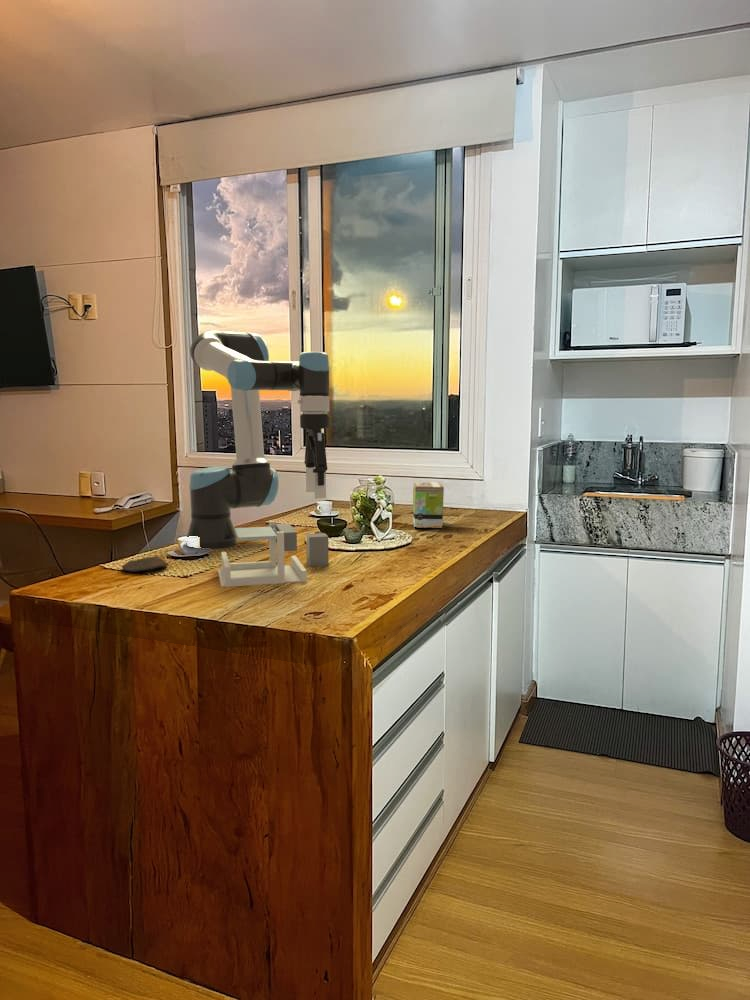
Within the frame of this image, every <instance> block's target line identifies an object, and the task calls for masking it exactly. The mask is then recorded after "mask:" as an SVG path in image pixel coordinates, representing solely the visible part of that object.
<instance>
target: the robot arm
mask: <svg viewBox="0 0 750 1000" xmlns="http://www.w3.org/2000/svg"><path fill="white" fill-rule="evenodd" d="M189 353H190V358H191V361H192V362H193V363H194V364H195V365H196V366H197V367H198V368H200V369H202V370H205V371H208V372H209V371H213V372H215V373H217V374H219V375H221V376H222V377H225V379H227V381H228V384H229V386H230V391H231V405H232V417H233V418H232V419H233V428H234V429H233V431H234V432H233V433H234V442H235V443H234V445H235V455H236V457H235V458H236V459H235V460H234V462H233V463H232V464H231V467H232V468H231V469H230V467H229V466H225V465H219V466H211V467H205V468H200V469H197V470H194V471H193V472H191V474H190V477H189V489H190V490H189V493H190V494H189V495H190V496H189V497H190V519H191V520H190V524H189V527H188V529H187V530H188V531H187V535H186V537H189V536H198V537H200V547H201V548H210V549H209V550H214V549H216V550H217V549H224V548H229V547H233V546H235V545H238V538H237V536H236V533H235V527H234V525H233V521H232V519H231V517H232V516H231V510H232V509H243V508H255V507H257V508H258V507H259V508H260V507H264V506H270V505H271V504H272V503H273V502H274V501H275V499H276V497H277V495H278V491H279V476H278V473H277V471H276V470H275V468H272V467H271V463H270V461H269V460H268V459H267V458H265V451H264V450H265V448H264V447H265V446H264V435H263V434H264V433H263V422H262V421H263V420H262V410H261V399H260V396H261V395H260V391H288V392H289V391H290V392H291V391H293V392H297V391H299V400H297V404H298V405H299V410H300V412H302V413H301V414H300V416H299V423H300V425H299V427H300V428H301V429H304V430H305V429H306V431H305V436H306V437H305V453H304V461H303V463H304V464H305V484H306V486H305V490H306V493H314V499H326V498H327V487H326V486H327V485H326V482H327V481H326V480H327V479H326V477H327V474H326V472H327V471H328V463H327V462H328V461H327V451H326V444H325V443H326V442H325V441H326V439H325V436H326V434H325V432H322V429H329V428H330V415H329V412H330V365H329V364H330V361H329V356H328V354H327V353H326V352H324V351H323V352H321V351H303V352H301V353H300V355H299V359H298V361H281V360H280V361H278V360H277V361H276V360H274V361H272V360H269V359H270V354H269V349H268V345H267V343H266V341H265V339H264V338H263V336H261V335H260V334H259V333H254V332H249V331H222V330H221V331H220V330H209V331H205V332H203V333H200V334H199V335H197V336H196V337H195V338H194V340H193V341H192V343H191V345H190V348H189Z"/></svg>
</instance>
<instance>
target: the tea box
mask: <svg viewBox="0 0 750 1000" xmlns="http://www.w3.org/2000/svg"><path fill="white" fill-rule="evenodd" d="M412 490H413V491H412V495H413V496H412V523H414V524H413V528H414V527H434V526H443V524H444V494H445V493H444V490H445V489H444V486H443V484H442V483H441V482H433V481H432V482H431V481H418V482H417V481H415V482H413V489H412Z"/></svg>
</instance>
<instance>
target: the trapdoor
mask: <svg viewBox="0 0 750 1000" xmlns="http://www.w3.org/2000/svg"><path fill="white" fill-rule="evenodd" d="M275 529H276V531H277V532H280V531H283V532H284V552H295V551H296V552H297V551H298V539H297V538H298V537H297V536H298V532H297V531H296V529H295V528H294V527H293V526H292V525H291V524H290V523H276V524H275ZM234 530H235V533H236V536H237V541H240V542H242V541H243V542H244V541H262V540H269V539H276V544H277V535H276V533H275V532H274V531H273V529H272V528H271V527H269V526H256V527H255V526H254V527H253V526H251V527H234Z"/></svg>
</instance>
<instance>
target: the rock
mask: <svg viewBox="0 0 750 1000" xmlns="http://www.w3.org/2000/svg"><path fill="white" fill-rule="evenodd" d="M168 566H169V563H168V562H166V561H165V560H164V558H162V557H159V556H157V555H156V556H151V557H150V556H148V557H142V558H139V559H135V560H134V559H133V560H130V561H127V562H126V563H125V564H123V565H121V568H122V569H123V570H125V571H128V572H141V571H150V570H154V569H159V568H162V569H163V568H167V567H168Z"/></svg>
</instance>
